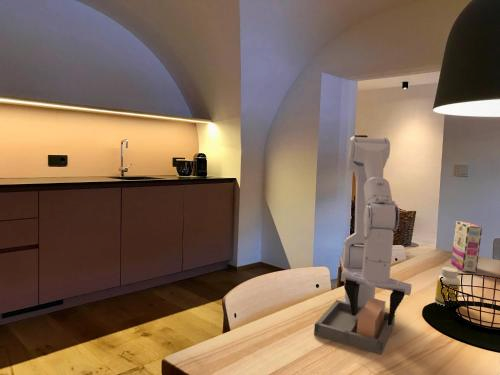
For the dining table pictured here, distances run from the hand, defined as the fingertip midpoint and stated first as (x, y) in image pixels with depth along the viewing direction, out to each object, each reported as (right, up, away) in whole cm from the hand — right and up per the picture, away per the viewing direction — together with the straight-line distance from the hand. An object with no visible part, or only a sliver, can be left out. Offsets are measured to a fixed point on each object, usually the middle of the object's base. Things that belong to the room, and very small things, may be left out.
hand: (371, 318), depth 84 cm
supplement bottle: (+26, -3, +20) cm, 33 cm away
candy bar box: (+51, -1, +55) cm, 75 cm away
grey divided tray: (-3, -3, +2) cm, 5 cm away
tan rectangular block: (0, -3, 0) cm, 3 cm away
